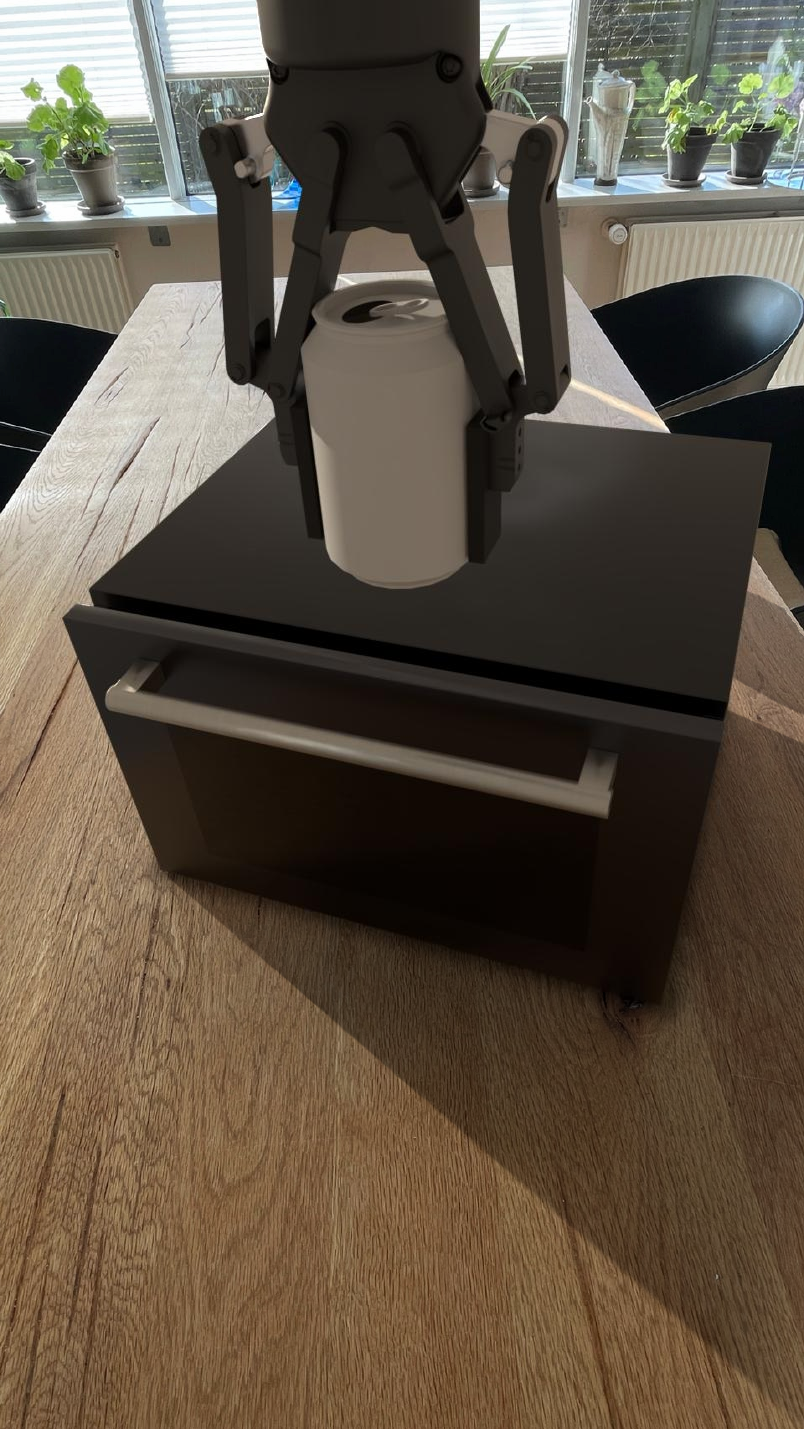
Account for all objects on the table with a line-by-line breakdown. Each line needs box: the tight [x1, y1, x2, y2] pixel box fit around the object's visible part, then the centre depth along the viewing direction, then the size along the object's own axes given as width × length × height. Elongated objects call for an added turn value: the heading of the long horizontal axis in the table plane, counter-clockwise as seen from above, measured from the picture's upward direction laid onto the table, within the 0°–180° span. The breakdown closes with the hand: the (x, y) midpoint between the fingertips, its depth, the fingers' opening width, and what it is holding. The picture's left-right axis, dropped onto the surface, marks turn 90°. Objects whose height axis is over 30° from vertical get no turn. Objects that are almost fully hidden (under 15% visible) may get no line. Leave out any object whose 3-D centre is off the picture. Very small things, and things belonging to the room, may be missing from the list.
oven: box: [88, 415, 772, 723], centre depth 75 cm, size 32×40×26 cm
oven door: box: [61, 603, 726, 1006], centre depth 62 cm, size 5×40×26 cm, turn 70°
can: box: [301, 278, 481, 589], centre depth 42 cm, size 8×8×12 cm
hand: (403, 535), depth 45 cm, fingers closed on can, 7 cm apart
